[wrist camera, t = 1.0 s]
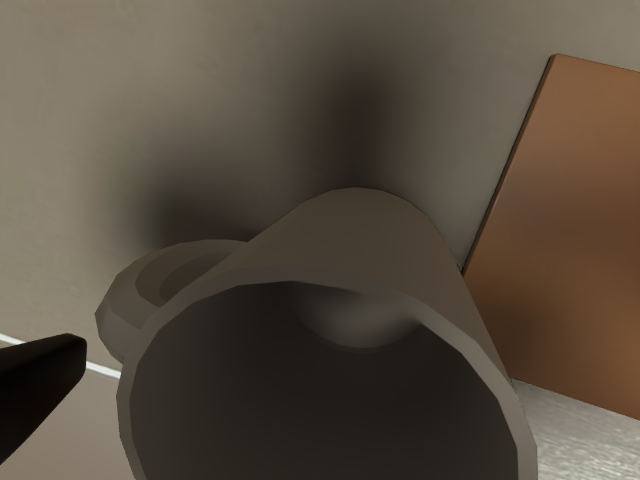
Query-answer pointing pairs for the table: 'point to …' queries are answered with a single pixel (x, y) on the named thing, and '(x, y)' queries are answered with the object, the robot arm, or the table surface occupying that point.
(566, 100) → the coaster
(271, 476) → the cup
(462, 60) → the table surface
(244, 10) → the table surface
